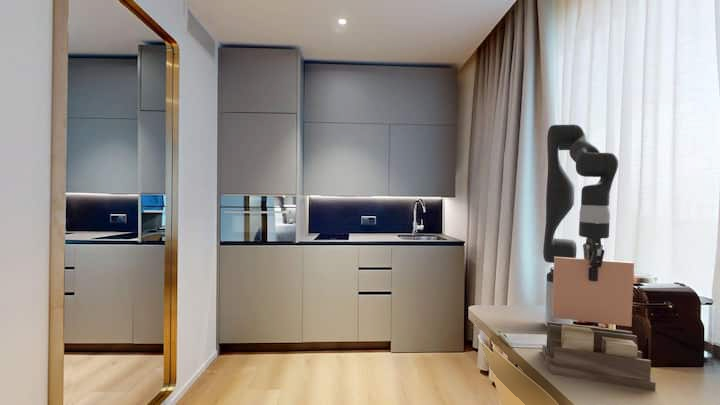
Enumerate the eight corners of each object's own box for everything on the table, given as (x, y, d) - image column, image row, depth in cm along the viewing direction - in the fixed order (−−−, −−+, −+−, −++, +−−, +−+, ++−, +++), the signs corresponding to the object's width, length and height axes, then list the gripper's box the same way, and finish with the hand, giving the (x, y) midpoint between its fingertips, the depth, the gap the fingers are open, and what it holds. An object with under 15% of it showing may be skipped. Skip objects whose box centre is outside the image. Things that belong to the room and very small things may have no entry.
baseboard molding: (610, 354, 119) (587, 340, 131) (611, 345, 119) (588, 331, 131) (512, 351, 119) (498, 337, 131) (513, 342, 119) (498, 329, 131)
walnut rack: (542, 351, 118) (543, 319, 118) (632, 364, 111) (633, 330, 111) (550, 373, 103) (551, 337, 103) (655, 390, 96) (656, 351, 95)
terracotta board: (551, 315, 115) (554, 256, 115) (629, 324, 109) (631, 262, 109) (553, 317, 113) (555, 257, 113) (631, 326, 107) (634, 263, 107)
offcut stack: (560, 359, 108) (562, 324, 108) (630, 370, 102) (632, 333, 102) (563, 365, 104) (564, 329, 104) (636, 376, 99) (637, 338, 98)
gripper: (574, 219, 118) (572, 274, 119) (585, 221, 105) (583, 283, 106) (602, 220, 116) (599, 276, 116) (616, 223, 103) (614, 286, 103)
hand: (591, 279), depth 111 cm, fingers closed on terracotta board, 2 cm apart
